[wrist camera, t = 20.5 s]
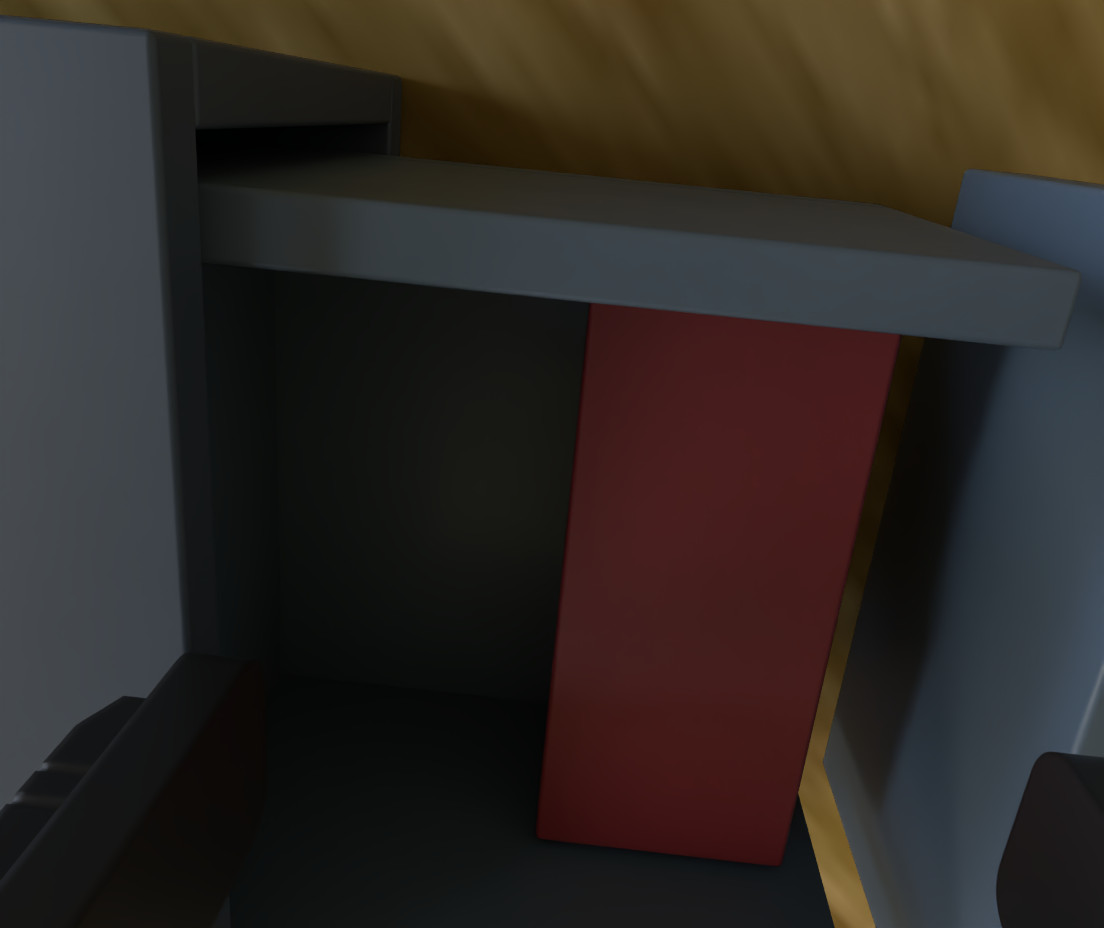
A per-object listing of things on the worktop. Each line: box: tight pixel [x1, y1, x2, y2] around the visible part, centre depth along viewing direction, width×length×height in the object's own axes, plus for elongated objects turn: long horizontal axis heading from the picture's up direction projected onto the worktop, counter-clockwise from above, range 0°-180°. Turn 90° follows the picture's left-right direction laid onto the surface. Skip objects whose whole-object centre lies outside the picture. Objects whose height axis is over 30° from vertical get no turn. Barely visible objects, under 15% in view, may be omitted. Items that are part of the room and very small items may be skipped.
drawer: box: [196, 141, 1104, 928], centre depth 14 cm, size 18×12×8 cm
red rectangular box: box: [535, 303, 902, 867], centre depth 15 cm, size 9×4×4 cm, turn 175°
